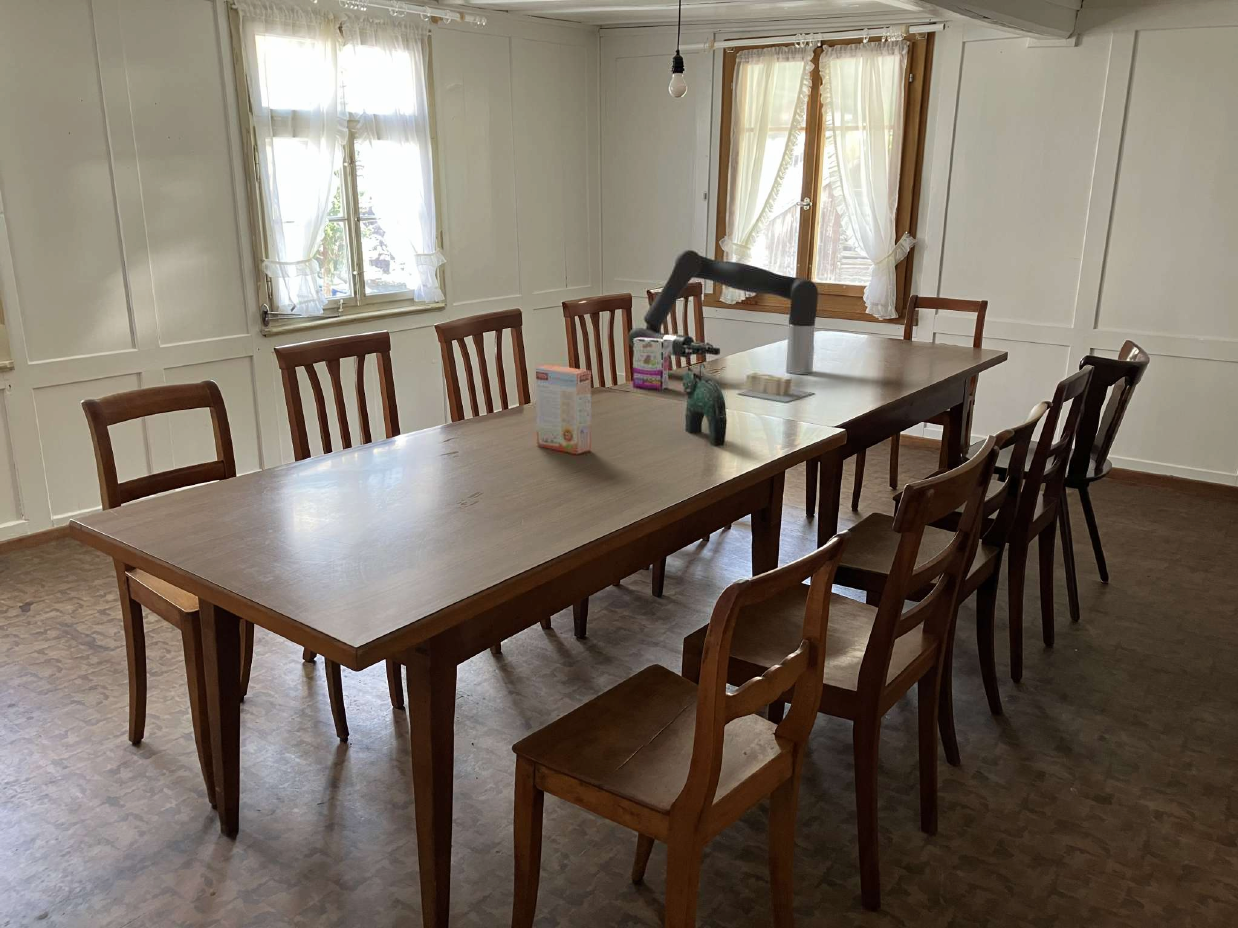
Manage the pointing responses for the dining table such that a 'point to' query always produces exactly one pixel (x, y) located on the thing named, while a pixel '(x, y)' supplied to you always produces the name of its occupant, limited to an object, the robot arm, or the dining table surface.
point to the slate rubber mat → (787, 398)
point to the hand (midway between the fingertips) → (718, 351)
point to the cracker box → (563, 408)
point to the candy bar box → (650, 363)
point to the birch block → (768, 384)
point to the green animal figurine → (704, 405)
